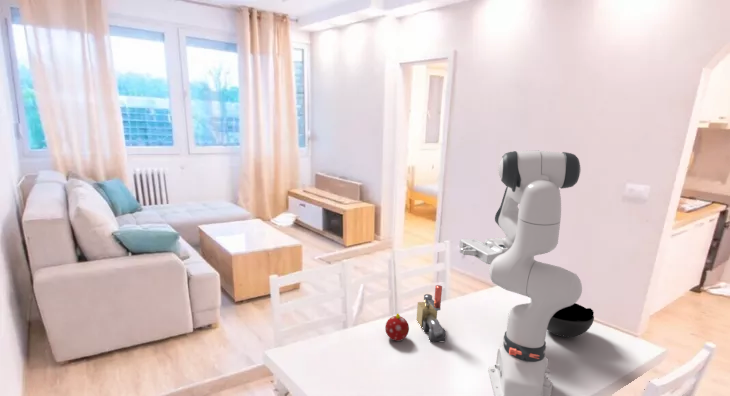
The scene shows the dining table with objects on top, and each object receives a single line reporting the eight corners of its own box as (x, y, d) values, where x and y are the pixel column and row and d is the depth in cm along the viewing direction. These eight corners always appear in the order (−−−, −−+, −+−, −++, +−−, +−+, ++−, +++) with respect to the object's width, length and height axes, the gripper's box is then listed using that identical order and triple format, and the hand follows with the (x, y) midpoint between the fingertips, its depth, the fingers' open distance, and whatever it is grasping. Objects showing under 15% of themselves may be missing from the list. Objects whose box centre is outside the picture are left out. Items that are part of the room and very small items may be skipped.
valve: (416, 320, 153) (418, 298, 151) (430, 319, 154) (432, 297, 152) (430, 343, 137) (432, 319, 135) (446, 342, 138) (448, 318, 136)
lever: (422, 299, 149) (424, 276, 148) (429, 298, 150) (431, 276, 149) (434, 312, 139) (436, 288, 137) (442, 311, 140) (444, 287, 138)
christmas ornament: (391, 347, 134) (392, 321, 132) (381, 334, 141) (382, 310, 139) (412, 343, 137) (414, 317, 135) (401, 330, 145) (403, 306, 143)
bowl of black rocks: (581, 325, 155) (588, 282, 151) (597, 352, 136) (605, 304, 132) (529, 316, 160) (534, 275, 156) (537, 342, 141) (543, 295, 137)
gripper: (478, 234, 156) (448, 235, 152) (511, 250, 137) (477, 252, 133) (476, 249, 157) (447, 250, 153) (508, 266, 138) (476, 269, 134)
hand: (461, 251), depth 143 cm, fingers closed
